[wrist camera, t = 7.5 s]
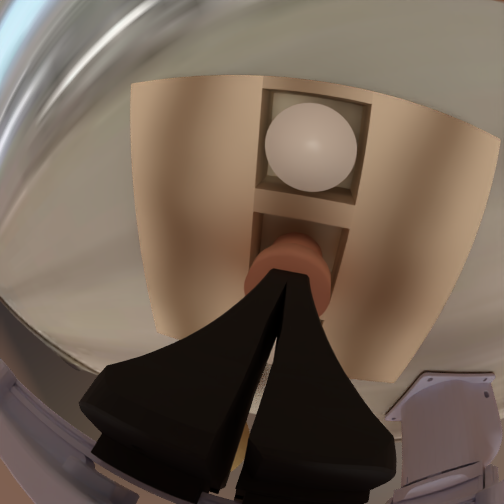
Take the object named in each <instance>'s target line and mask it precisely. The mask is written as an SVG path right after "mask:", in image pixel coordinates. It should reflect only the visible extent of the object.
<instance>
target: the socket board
mask: <svg viewBox="0 0 504 504" xmlns="http://www.w3.org/2000/svg"><path fill="white" fill-rule="evenodd" d="M301 103H317V104H321V105H324V106H327V107H329V108H331V109H333V110H335V111H336V112H338V113H339V114H340V115H341V116H343V117H344V119H345V120H346V121H347V122H348V124H349V125H350V127H351V128H352V130H353V133H354V135H355V138H356V144H357V155H356V160H355V163H354V166H353V168H352V170H351V172H350V173H349V175H348V176H347V177H346V178H345V179H344V180H343V181H342V182H341V183H339V184H338V185H336V186H335V187H333V188H330V189H328V190H324V191H319V192H308V191H302V190H298V189H296V188H293V187H291V186H289V185H288V184H286V183H285V182H283V181H282V180H281V179H280V178H279V177H278V176H277V175H276V174H275V173H274V171H273V170H272V168H271V166H270V165H269V162H268V160H267V156H266V151H265V139H266V134H267V131H268V129H269V126H270V124H271V123H272V121H273V120H274V119H275V118H276V116H277V115H278V114H280V113H281V112H282V111H283V110H285V109H287V108H289V107H291V106H293V105H296V104H301ZM130 123H131V157H132V174H133V187H134V198H135V208H136V217H137V226H138V233H139V241H140V247H141V254H142V260H143V266H144V272H145V277H146V283H147V288H148V293H149V298H150V303H151V308H152V312H153V317H154V321H155V325H156V329H157V332H158V333H161V334H164V335H166V336H169V337H172V338H175V339H179V340H181V339H183V338H185V337H187V336H189V335H191V334H192V333H194V332H196V331H198V330H200V329H201V328H203V327H205V326H206V325H208V324H209V323H211V322H212V321H214V320H215V319H217V318H218V317H220V316H221V315H222V314H224V313H225V312H226V311H228V310H229V309H230V308H231V307H233V306H234V305H235V304H236V303H238V302H239V301H240V300H241V299H242V298H244V297H245V293H244V283H245V279H246V276H247V274H248V272H249V270H250V268H251V266H252V264H253V262H254V260H255V258H256V257H257V256H258V254H259V253H260V252H262V251H263V250H264V249H266V248H268V247H269V246H271V245H272V244H273V242H274V241H275V240H276V239H277V238H278V237H279V236H281V235H283V234H286V233H291V232H298V233H303V234H306V235H308V236H310V237H311V238H313V239H314V240H315V241H316V242H317V243H318V245H319V246H320V248H321V251H322V258H323V259H324V260H325V262H326V264H327V265H328V268H329V270H330V274H331V293H330V302H329V305H328V307H327V309H326V310H325V312H324V313H323V314H322V315H321V316H320V317H319V319H320V321H321V324H322V327H323V329H324V331H325V334H326V336H327V339H328V341H329V343H330V345H331V347H332V349H333V351H334V353H335V355H336V357H337V359H338V361H339V363H340V365H341V366H342V368H343V370H344V372H345V373H346V375H347V376H348V378H351V379H359V380H368V381H377V382H388V383H395V381H396V380H397V379H398V377H399V376H400V375H401V373H402V372H403V371H404V369H405V368H406V366H407V365H408V364H409V362H410V361H411V359H412V358H413V356H414V355H415V353H416V352H417V350H418V349H419V347H420V346H421V344H422V343H423V341H424V340H425V338H426V336H427V335H428V333H429V332H430V330H431V328H432V327H433V325H434V323H435V321H436V320H437V318H438V316H439V314H440V313H441V311H442V309H443V307H444V305H445V303H446V302H447V300H448V298H449V296H450V294H451V292H452V290H453V288H454V286H455V284H456V282H457V279H458V277H459V275H460V273H461V271H462V269H463V266H464V264H465V262H466V259H467V257H468V255H469V252H470V250H471V247H472V245H473V242H474V239H475V237H476V234H477V231H478V228H479V225H480V223H481V220H482V216H483V213H484V210H485V207H486V204H487V200H488V197H489V193H490V189H491V185H492V181H493V177H494V173H495V168H496V163H497V158H498V153H499V147H500V141H501V139H499V138H497V137H495V136H493V135H491V134H489V133H487V132H485V131H483V130H481V129H479V128H477V127H475V126H473V125H470V124H468V123H466V122H464V121H461V120H459V119H457V118H454V117H452V116H449V115H447V114H444V113H442V112H439V111H436V110H434V109H431V108H428V107H425V106H422V105H419V104H416V103H413V102H410V101H407V100H403V99H400V98H396V97H393V96H389V95H385V94H381V93H377V92H373V91H369V90H365V89H360V88H355V87H350V86H345V85H340V84H334V83H328V82H321V81H314V80H306V79H297V78H287V77H274V76H254V75H212V76H192V77H179V78H169V79H160V80H153V81H146V82H139V83H133V84H131V110H130ZM267 364H268V363H267Z"/></svg>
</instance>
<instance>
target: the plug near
mask: <svg viewBox="0 0 504 504" xmlns="http://www.w3.org/2000/svg"><path fill="white" fill-rule="evenodd" d="M265 151H266V156H267V160H268V162H269V165H270V166H271V168H272V170H273V171H274V173H275V174H276V175H277V176H278V177H279V178H280V179H281V180H282V181H283V182H285V183H286V184H288V185H289V186H291V187H293V188H296V189H298V190H302V191H308V192H319V191H324V190H328V189H330V188H333V187H335V186H336V185H338V184H339V183H341V182H342V181H343V180H344V179H345V178H346V177H347V176H348V175H349V173H350V172H351V170H352V168H353V166H354V163H355V160H356V155H357V144H356V138H355V135H354V133H353V130H352V128H351V127H350V125H349V124H348V122H347V121H346V120H345V119H344V117H343V116H341V115H340V114H339V113H338V112H336V111H335V110H333V109H331V108H329V107H327V106H324V105H321V104H317V103H301V104H296V105H293V106H291V107H289V108H287V109H285V110H283V111H282V112H281V113H280V114H278V115H277V116H276V118H275V119H274V120H273V121H272V123H271V124H270V126H269V129H268V131H267V134H266V139H265Z"/></svg>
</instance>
